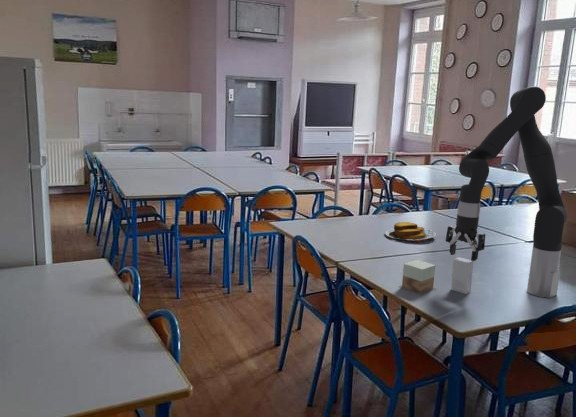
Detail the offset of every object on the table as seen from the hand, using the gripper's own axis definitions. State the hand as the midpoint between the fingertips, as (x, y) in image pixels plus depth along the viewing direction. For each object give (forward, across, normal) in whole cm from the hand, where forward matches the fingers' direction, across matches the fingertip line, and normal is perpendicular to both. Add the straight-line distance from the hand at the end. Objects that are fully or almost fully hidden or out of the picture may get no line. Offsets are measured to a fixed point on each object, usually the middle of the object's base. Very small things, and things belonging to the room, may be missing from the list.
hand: (462, 257), depth 193 cm
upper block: (+8, +10, +12) cm, 17 cm away
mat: (+13, +10, +12) cm, 20 cm away
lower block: (+12, +10, +12) cm, 20 cm away
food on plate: (+14, +58, -47) cm, 76 cm away
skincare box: (+13, -1, 0) cm, 13 cm away
